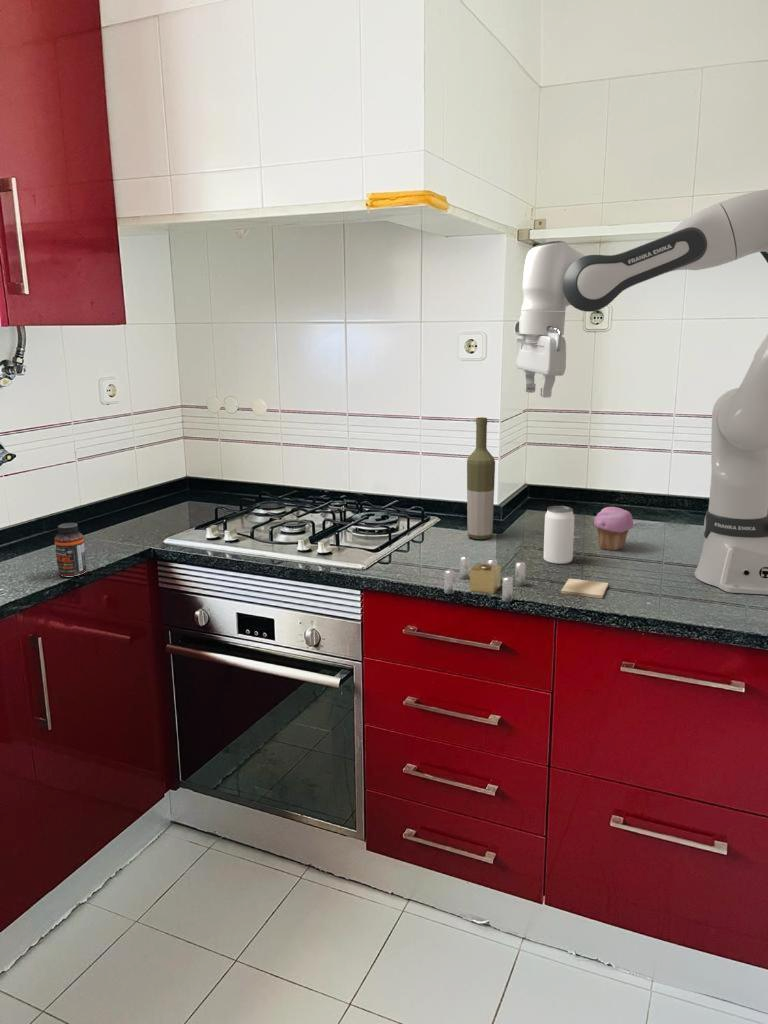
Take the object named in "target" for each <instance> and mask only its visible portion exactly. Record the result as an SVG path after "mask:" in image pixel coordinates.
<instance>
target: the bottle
mask: <svg viewBox="0 0 768 1024" xmlns="http://www.w3.org/2000/svg"><path fill="white" fill-rule="evenodd" d="M475 425H476V427H475V448H474V450H473V451H472V453H471V454H470V455H469V456H468V457H467V458H466V459H467V460H466V493H467V494H466V501H467V502H466V504H467V505H466V506H467V507H466V510H467V511H466V512H467V514H466V516H467V518H466V520H467V522H466V523H467V524H466V525H467V536H468V538H471V539H474V540H487V539H490V538H492V537H493V528H494V527H493V525H494V505H495V503H494V501H495V479H496V477H495V476H496V475H495V473H496V460H495V457H494V456H493V455H492V453H490V451H489V450H488V448H487V441H488V439H487V434H488V433H487V431H488V428H487V427H488V426H487V425H488V418H487V417H483V416H482V417H476V420H475Z"/></svg>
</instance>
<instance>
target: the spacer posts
mask: <svg viewBox="0 0 768 1024" xmlns="http://www.w3.org/2000/svg"><path fill="white" fill-rule="evenodd" d="M486 562H487V563H486V564H490V565H498V559H495V558H489V559H488V558H487V561H486ZM514 569H515V571H514V577H512V576H509V575H508V576H503V577H502V584H501V585H502V589H501V590H502V591H501V593H502V594H501V601H503V602H505V603H506V602H507V603H508V602H509V603H510V602H512V601H513V595H514V594H513V593H514V591H513V590H514V589H513V588H514V585H515V586H520V587H521V586H525V583H526V562H523V561H516V562H515V568H514ZM459 579H462V580H466V579H470V556H469V555H461V556H459ZM443 593H444V594H447V595H453V594H454V593H455V570H453V569H445V570H444V571H443Z"/></svg>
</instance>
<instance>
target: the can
mask: <svg viewBox="0 0 768 1024" xmlns="http://www.w3.org/2000/svg"><path fill="white" fill-rule="evenodd" d="M546 509H547V511H546V512H545V515H544V528H543V529H544V532H543V533H544V535H543V537H544V538H543V560H544V561H545V562H547V563H548V564H552V565H567V564H570V563H572V561H573V557H574V541H575V540H574V539H575V538H574V536H575V514H574V511H573V510H574V509H573V508H572V507H570V506H564V505H554V506H553V505H552V506H548V507H547V508H546Z"/></svg>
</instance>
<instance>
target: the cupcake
mask: <svg viewBox="0 0 768 1024" xmlns="http://www.w3.org/2000/svg"><path fill="white" fill-rule="evenodd" d="M593 524H594V527H595V528H596V531H597V535H598V546H599V547H600V549H601V550H606V549H607V551H617V550H620V549H621V548H624V546H625V544H626V540H627V535H628V533H629V530H631V529H632V528H633V527H634V517H633V515H632V513H631V512H630V511H628V510H626V509H623V508H620V507H616V506H606V507H604V508H602V509H601V510H600V511H599V512H598V513H597V514H596V516H595V517H594V522H593Z"/></svg>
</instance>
